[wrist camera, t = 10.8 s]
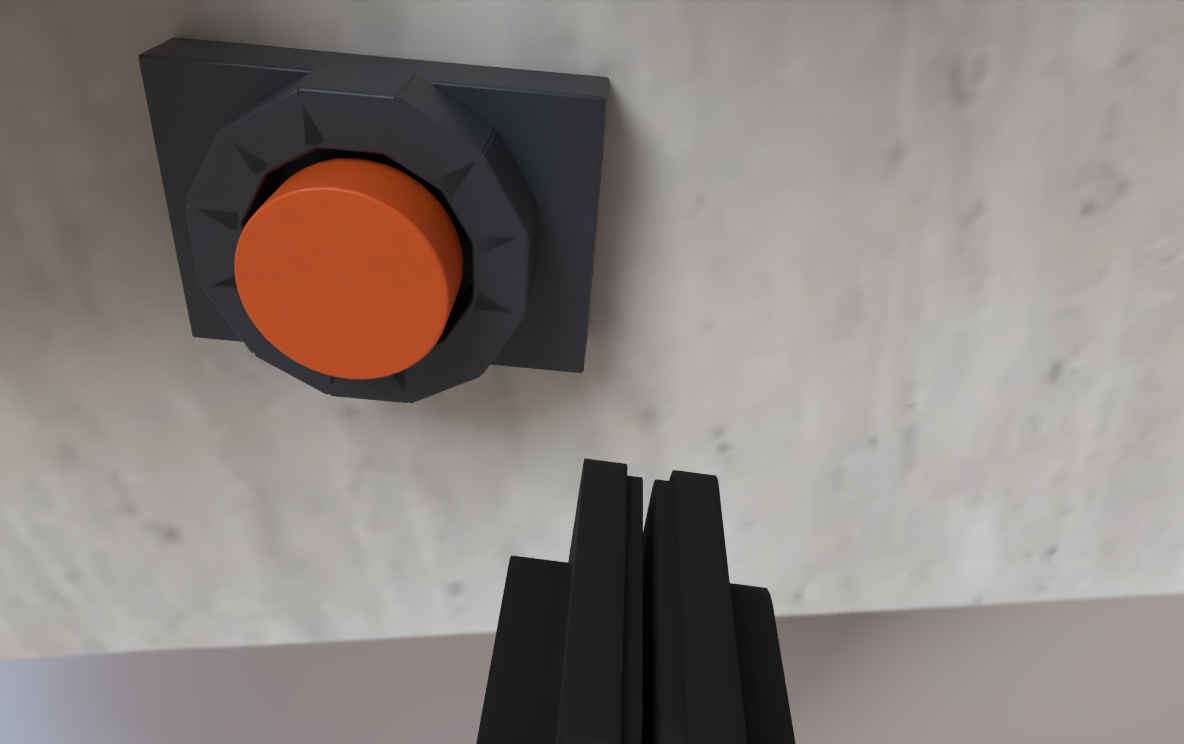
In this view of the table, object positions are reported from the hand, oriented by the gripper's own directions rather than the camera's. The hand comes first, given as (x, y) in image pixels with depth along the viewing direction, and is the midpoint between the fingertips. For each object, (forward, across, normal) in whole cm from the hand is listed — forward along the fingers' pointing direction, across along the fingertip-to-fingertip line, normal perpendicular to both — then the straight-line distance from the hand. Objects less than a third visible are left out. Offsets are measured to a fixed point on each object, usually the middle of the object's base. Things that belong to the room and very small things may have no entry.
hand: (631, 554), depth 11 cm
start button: (+9, +6, +1) cm, 11 cm away
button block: (+12, +6, +1) cm, 14 cm away
